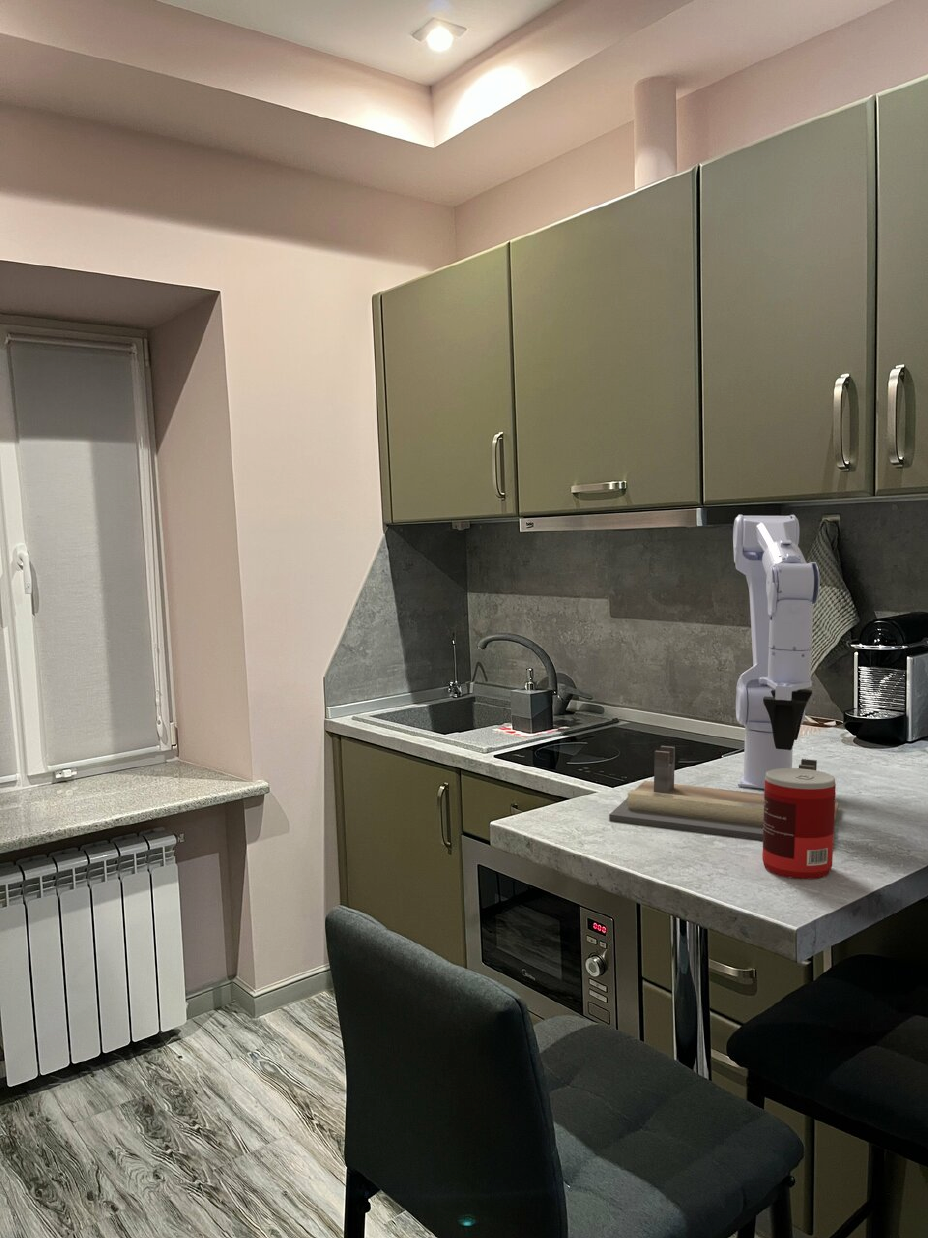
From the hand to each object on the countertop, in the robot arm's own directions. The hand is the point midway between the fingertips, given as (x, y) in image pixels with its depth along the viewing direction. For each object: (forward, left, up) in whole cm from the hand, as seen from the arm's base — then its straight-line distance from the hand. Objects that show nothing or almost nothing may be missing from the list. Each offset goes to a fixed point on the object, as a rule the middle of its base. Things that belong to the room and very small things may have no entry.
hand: (786, 744), depth 135 cm
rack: (+1, -7, -9) cm, 12 cm away
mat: (+12, -7, -9) cm, 16 cm away
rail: (+12, -7, -9) cm, 16 cm away
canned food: (+26, +4, -10) cm, 28 cm away
